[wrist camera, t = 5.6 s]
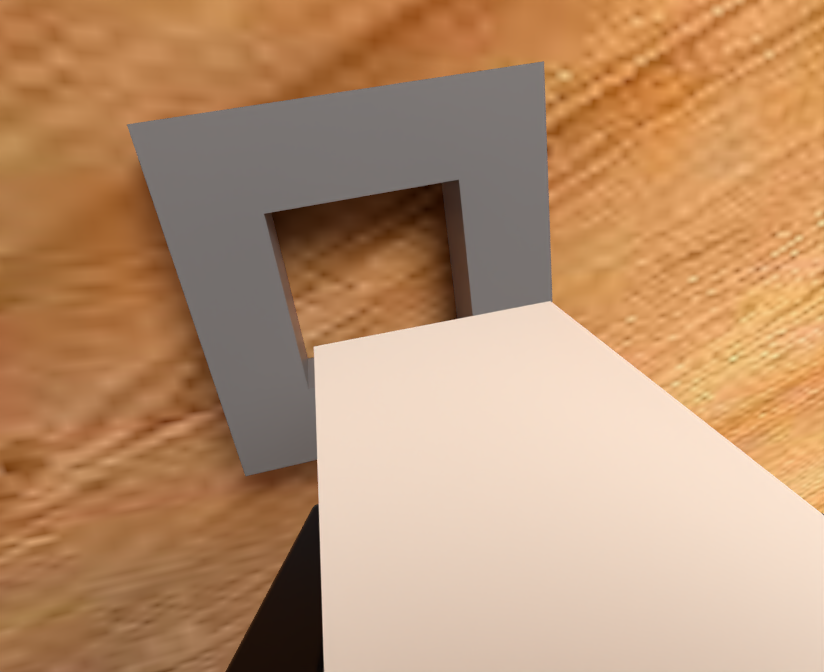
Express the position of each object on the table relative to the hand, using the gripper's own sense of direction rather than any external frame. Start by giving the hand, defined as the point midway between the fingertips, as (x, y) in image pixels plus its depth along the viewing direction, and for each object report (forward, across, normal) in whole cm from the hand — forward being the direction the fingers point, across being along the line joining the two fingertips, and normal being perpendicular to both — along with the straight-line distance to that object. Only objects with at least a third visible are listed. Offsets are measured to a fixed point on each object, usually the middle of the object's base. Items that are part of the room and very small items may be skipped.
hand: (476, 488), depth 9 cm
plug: (+2, 0, 0) cm, 2 cm away
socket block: (+12, 0, 0) cm, 12 cm away
